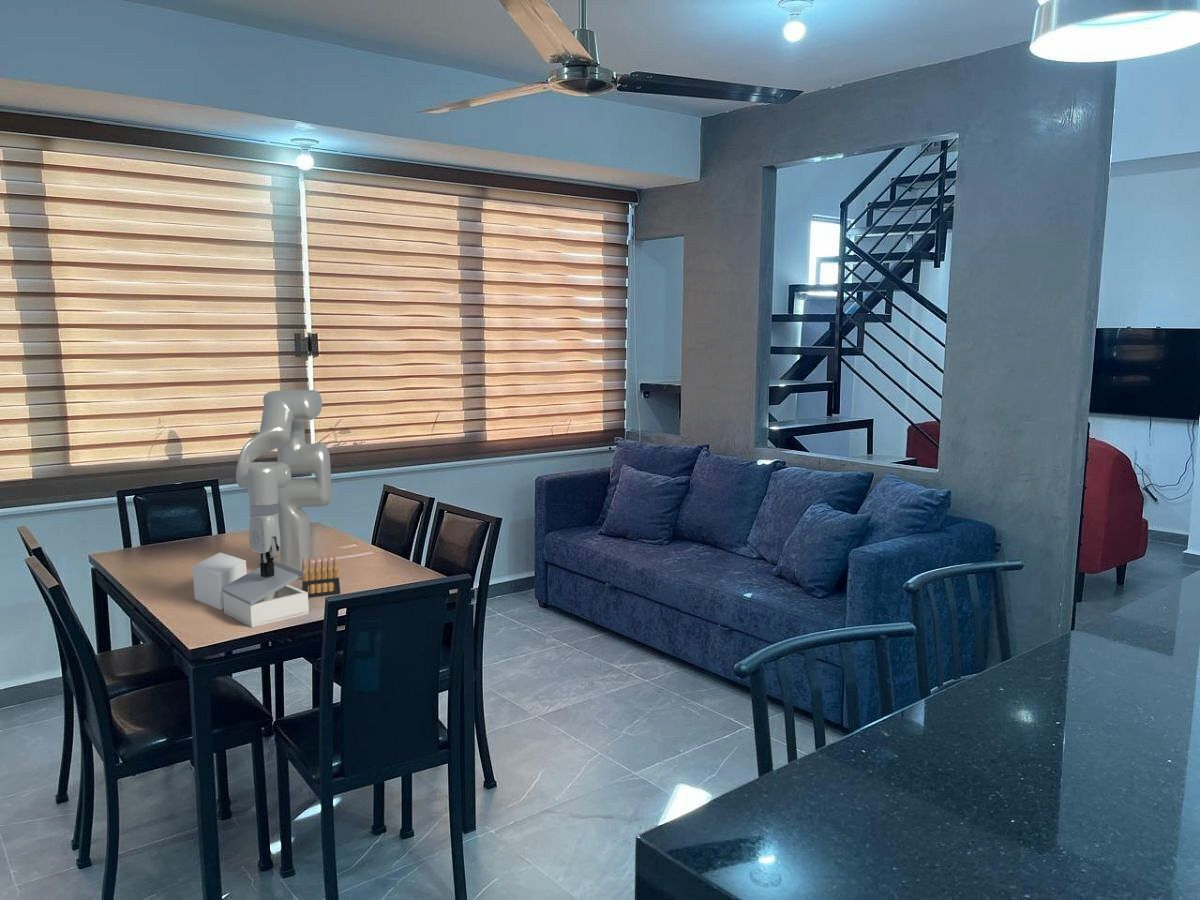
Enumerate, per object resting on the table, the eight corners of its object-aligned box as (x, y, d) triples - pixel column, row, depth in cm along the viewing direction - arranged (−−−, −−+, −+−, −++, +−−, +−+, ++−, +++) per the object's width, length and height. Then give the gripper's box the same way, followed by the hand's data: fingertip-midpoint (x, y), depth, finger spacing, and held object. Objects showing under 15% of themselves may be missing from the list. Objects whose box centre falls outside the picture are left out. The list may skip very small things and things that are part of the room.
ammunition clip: (339, 592, 259) (337, 553, 258) (340, 594, 258) (338, 554, 256) (302, 596, 255) (300, 557, 254) (302, 598, 253) (300, 558, 252)
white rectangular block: (247, 581, 272) (245, 550, 271) (248, 607, 246) (246, 572, 245) (196, 587, 267) (194, 554, 266) (192, 613, 240) (190, 577, 239)
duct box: (224, 612, 240) (222, 591, 240) (283, 599, 252) (281, 579, 252) (251, 627, 228) (250, 605, 227) (312, 612, 240) (311, 591, 239)
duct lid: (222, 591, 240) (220, 588, 240) (273, 562, 250) (272, 559, 250) (251, 605, 227) (249, 601, 226) (304, 574, 237) (303, 571, 236)
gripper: (239, 509, 239) (242, 574, 241) (262, 515, 229) (266, 583, 230) (265, 506, 244) (268, 569, 246) (290, 511, 234) (293, 578, 236)
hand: (267, 576), depth 238 cm, fingers closed
